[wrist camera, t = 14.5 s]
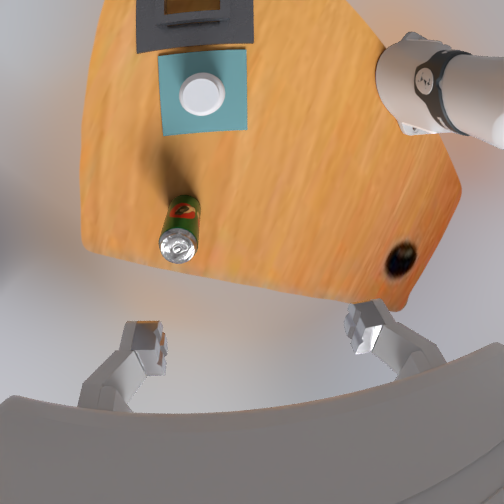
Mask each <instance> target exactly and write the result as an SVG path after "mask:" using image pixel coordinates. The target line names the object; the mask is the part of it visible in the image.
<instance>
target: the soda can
mask: <svg viewBox="0 0 504 504" xmlns="http://www.w3.org/2000/svg"><path fill="white" fill-rule="evenodd" d="M200 214H201V207H200V204H199V202H198V201H197V200H196V199H195V198H193V197H191V196H188V195H180V196H178V197H176V198H174V199H173V200H172V201H171V203H170V205H169V209H168V212H167V215H166V218H165V222H164V225H163V228H162V232H161V235H160V238H159V248H160V250H161V253H162V255H163V257H164V258H165V259H166V260H168V261H169V262H172V263H176V264H181V263H185V262H187V261H189V260H190V259H191V258H192V257H193V256H194V255H195V253H196V252H197V249H198V240H199V226H200Z"/></svg>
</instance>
